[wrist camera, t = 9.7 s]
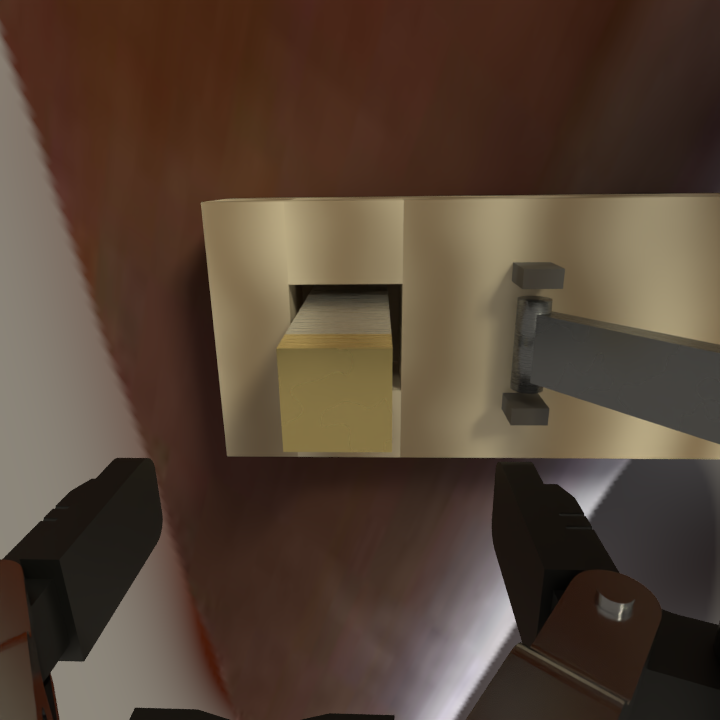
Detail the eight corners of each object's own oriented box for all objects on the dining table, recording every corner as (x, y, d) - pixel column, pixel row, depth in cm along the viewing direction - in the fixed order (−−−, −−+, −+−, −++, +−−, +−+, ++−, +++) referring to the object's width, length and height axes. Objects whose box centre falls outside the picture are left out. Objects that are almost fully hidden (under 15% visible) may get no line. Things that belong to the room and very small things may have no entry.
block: (714, 192, 26) (823, 197, 20) (671, 415, 30) (751, 479, 24) (231, 198, 27) (186, 204, 21) (250, 414, 31) (216, 475, 24)
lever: (851, 351, 15) (838, 361, 14) (814, 474, 16) (801, 490, 16) (530, 294, 23) (510, 298, 22) (522, 379, 24) (503, 387, 24)
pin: (386, 280, 27) (392, 348, 16) (386, 347, 28) (391, 452, 18) (317, 281, 27) (276, 348, 16) (319, 347, 29) (283, 451, 18)
